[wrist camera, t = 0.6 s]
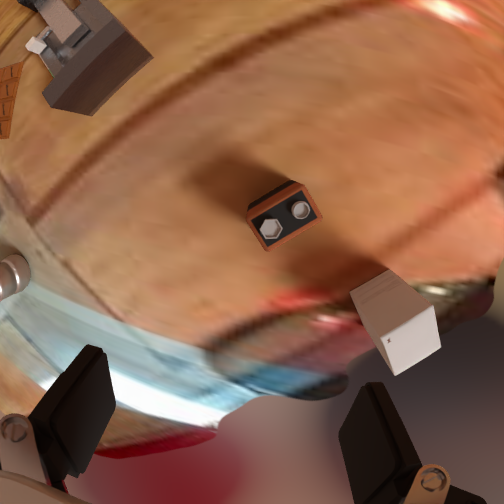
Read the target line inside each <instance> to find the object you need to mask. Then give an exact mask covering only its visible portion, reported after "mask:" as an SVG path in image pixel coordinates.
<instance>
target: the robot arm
mask: <svg viewBox="0 0 504 504" xmlns="http://www.w3.org/2000/svg"><path fill="white" fill-rule="evenodd" d="M115 407H116V401H115V396H114V392H113V387H112V382H111V377H110V371H109V366H108V360H107V355H106V353H103V350H102V348H99V347H96V346H92V345H89V344H87V345H86V346H85V347H84V348H83V349H82V350H81V352H80V353H79V354H78V355H77V357H76V358H75V359H74V360H73V361H72V363H71V364H70V365H69V366H68V368H67V369H66V370H65V372H63V373H61V374H60V376H59V377H58V378H57V379H56V381H55V382H54V383H53V385H52V386H51V387H50V388H49V390H48V391H47V392H46V394H45V395H44V396H43V398H42V399H41V400H40V402H39V403H38V404H37V406H36V407H35V408H34V410H33V411H32V412H31V414H30V415H29V416H28V418H26V417H25V416H23V415H20V414H8V415H6V416H5V417H3V418H2V419H1V420H0V504H91V503H88V502H85V501H83V500H81V499H78V498H76V497H74V496H71V495H70V494H69V492H68V489H67V487H66V484H65V481H64V479H65V477H66V475H67V474H69V475H71V476H73V477H76V478H78V476H79V474H80V473H84V472H85V470H86V468H87V466H88V464H89V462H90V460H91V458H92V455H93V453H94V451H95V449H96V447H97V445H98V443H99V441H100V439H101V437H102V435H103V433H104V431H105V428H106V426H107V424H108V422H109V420H110V418H111V416H112V414H113V412H114V410H115ZM339 442H340V446H341V449H342V454H343V457H344V461H345V465H346V470H347V474H348V478H349V482H350V486H351V491H352V495H353V500H354V503H355V504H487V503H486V501H485V500H484V499H483V498H481V497H480V496H477V495H474V494H472V493H469V492H467V491H464V490H461V489H459V488H457V487H454V486H452V485H450V476H449V474H448V473H447V471H446V470H445V469H444V468H442V467H440V466H438V465H434V464H431V465H426V466H422V464H421V461H420V459H419V457H418V455H417V452H416V450H415V448H414V446H413V444H412V442H411V439H410V437H409V435H408V433H407V431H406V428H405V426H404V424H403V422H402V420H401V418H400V417H399V414H398V412H397V410H396V408H395V406H394V404H393V402H392V400H391V398H390V396H389V394H388V392H387V390H386V388H385V386H384V384H383V383H382V382H368V383H366V385H365V386H362V387H361V389H360V391H359V393H358V395H357V397H356V399H355V401H354V403H353V405H352V407H351V409H350V411H349V413H348V415H347V417H346V419H345V421H344V423H343V425H342V427H341V428H340V431H339Z"/></svg>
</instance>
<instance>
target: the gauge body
mask: <svg viewBox="0 0 504 504" xmlns="http://www.w3.org/2000/svg"><path fill="white" fill-rule="evenodd" d="M79 1H80V2H81V4H80V5H79V6H78V7H77V8H76V9H75V10H74V12H75V13H76V14H77V16H78V17H79V18H80V19H81V20H82V21H83V22H84V24H85V25H86V26H87V27H88V28H89V30H88V31H87V32H86V33H85V34H84V35H83V36H82V37H81V38H80V39H79V40H78V41H77V42H76V43H75V44H74V45H73V46H72V47H71V48H70V47H68V46H66V45H64V44H62V43H61V41H60V40H59V39H58V37H57V36H56V35H55V33H54V32H52V33H51V34H50V35H49V36H47V37H46V38H45V39H44V40H43V41H44V42H45V44H46V45H47V46H46V47H45V48H44V49H43V51H42V52H41V53H40V54H38V55H39V56H40V58H41V59H42V61H43V62H44V64H45V65H46V67H47V69H48V70H49V72H50V73H51V75H52V76H53V80H52V81H51V82H50V83H49V85H48V86H47V87H46V88H45V89H44V91H43V92H42V94H43V96H44V97H45V99H46V101H47V102H48V104H49V105H50V107H51V108H55V109H61V110H65V111H70V112H75V113H79V114H84V115H88V116H93V115H94V114H95V113H96V112H97V110H98V109H99V108H100V107H101V106H102V105H103V104H104V103H105V102H106V101H107V100H108V99H109V98H110V97H111V96H112V95H113V94H114V93H115V92H116V91H117V90H118V89H119V88H120V87H121V86H122V85H124V84H125V83H126V82H127V81H128V80H129V79H130V78H131V77H132V76H133V75H134V74H136V73H137V72H138V71H139V70H140V69H141V68H142V67H144V66H145V65H146V64H147V63H148V62H150V61H151V60H152V59H153V58H154V57H153V56H152V55H151V54H150V53H149V52H148V51H147V49H146V48H145V47H144V46H143V45H142V44H141V43H140V42H139V41H138V40H137V39H136V38H135V37H134V36H133V35H132V34H131V33H130V32H129V30H128V29H127V28H126V27H125V26H124V25H123V24H122V23H121V22H120V21H119V20H118V19H117V18H116V17H115V16H114V15H113V14H112V13H111V12H110V11H109V10H108V9H107V8H106V7H105V6H104V5H103V4H102V3H101V2H100V1H99V0H79ZM39 34H40V33H39ZM39 34H38V35H37V36H36V38H37V37H38V36H39Z"/></svg>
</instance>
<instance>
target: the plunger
mask: <svg viewBox="0 0 504 504" xmlns="http://www.w3.org/2000/svg"><path fill="white" fill-rule="evenodd" d="M17 1H18V3H20V4H22V5H24V6H26V7H28V8H30V9H31V10H33V11H35V12H38V11H39V13H40V14H41V15H42V17H43V18H44V19H45V21H46V22H47V24H48V25H49V26H50V27H49V26H47V27H46V28H45V29H44V30H43V31H42V32H41V33H40V34H39V36H38V37H37V38H38V39H40V40H42V41H43V40H44V39H45V38H46V37H47V36H48V35H49V33H50V32H51V31H52V30H53V32H54V33H55V35H56V36H57V37H58V39H59V40H60V41H61V43H62V44H64V45H66V46H68V47H70V48H71V47H72V46H73V45H74V44H75V43H76V42H77V41H78V40H79V39H80V38H81V37H82V36H83V35H84V34H85V33H86V32H87V31H88V30H89V28H88V27H87V26H86V25H85V24H84V22H83V21H82V20H81V19H80V18H79V17H78V16H77V14H76V13H75V12H74V11H73V10H72V9H71V8H70V7H69V5H68V4H67V3H66V2H65V1H64V0H17Z"/></svg>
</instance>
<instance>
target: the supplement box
mask: <svg viewBox="0 0 504 504" xmlns="http://www.w3.org/2000/svg"><path fill="white" fill-rule="evenodd" d="M349 293H350V295H351V297H352V300H353V302H354V304H355V307H356V309H357V312H358V314H359V316H360V318H361V321H362V323H363V325H364V327H365V329H366V330H367V332H368V333H369V335H370V337H371V338H372V340H373V341H374V343H375V345H376V346H377V348H378V350H379V351H380V353H381V354H382V356H383V358H384V359H385V361H386V363H387V364H388V366H389V367H390V369H391V371H392V372H393V374H394V375H395V376H396V375H397V374H399V373H401V372H402V371H404V370H406V369H407V368H409V367H411V366H412V365H414V364H416V363H417V362H419V361H421V360H422V359H424V358H425V357H427V356H428V355H430V354H432V353H433V352H434V351H436V350H438V349H439V348H441V345H440V339H439V334H438V329H437V323H436V317H435V312H434V307H433V305H432V304H431V303H429V302H428V301H427V300H426V299H424V298H423V297H422V296H421V295H420V294H419V293H418V292H416V291H415V290H414V289H413V288H412V287H411V286H410V285H408V284H407V283H406V282H405V281H404V280H402V279H401V278H400V277H399V276H398V275H396V274H395V273H394V272H393V271H391V270H390V269H388V270H387V271H385V272H383V273H382V274H380V275H378V276H376V277H375V278H373V279H371V280H370V281H368V282H366V283H364V284H363V285H361V286H359V287H357V288H355V289H354V290H352V291H350V292H349Z"/></svg>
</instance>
